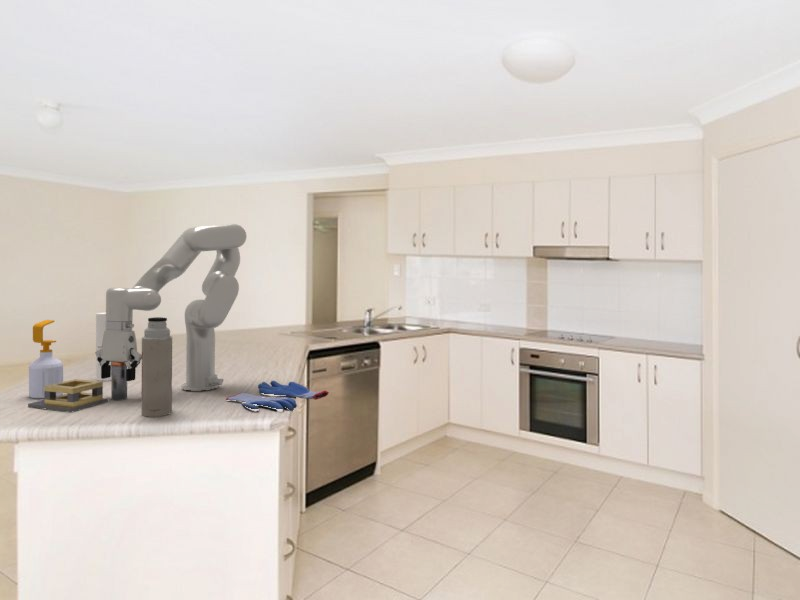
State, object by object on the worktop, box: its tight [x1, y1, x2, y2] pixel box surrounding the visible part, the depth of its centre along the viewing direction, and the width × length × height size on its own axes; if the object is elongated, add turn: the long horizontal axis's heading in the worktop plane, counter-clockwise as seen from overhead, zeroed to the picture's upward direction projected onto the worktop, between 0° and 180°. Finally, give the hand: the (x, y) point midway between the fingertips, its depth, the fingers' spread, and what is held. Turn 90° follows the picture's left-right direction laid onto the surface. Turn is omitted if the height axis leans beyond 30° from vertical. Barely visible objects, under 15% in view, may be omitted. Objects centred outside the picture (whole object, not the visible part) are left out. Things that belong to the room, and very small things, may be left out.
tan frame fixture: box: [27, 378, 109, 413], centre depth 152 cm, size 16×13×6 cm
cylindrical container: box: [95, 312, 111, 382], centre depth 188 cm, size 7×7×25 cm
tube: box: [110, 361, 128, 401], centre depth 160 cm, size 5×5×14 cm
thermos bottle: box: [141, 316, 173, 418], centre depth 144 cm, size 8×8×28 cm
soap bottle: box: [28, 319, 64, 399], centre depth 161 cm, size 9×9×25 cm
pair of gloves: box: [225, 380, 330, 411], centre depth 165 cm, size 32×26×4 cm
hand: (118, 379), depth 160 cm, fingers open, 9 cm apart
